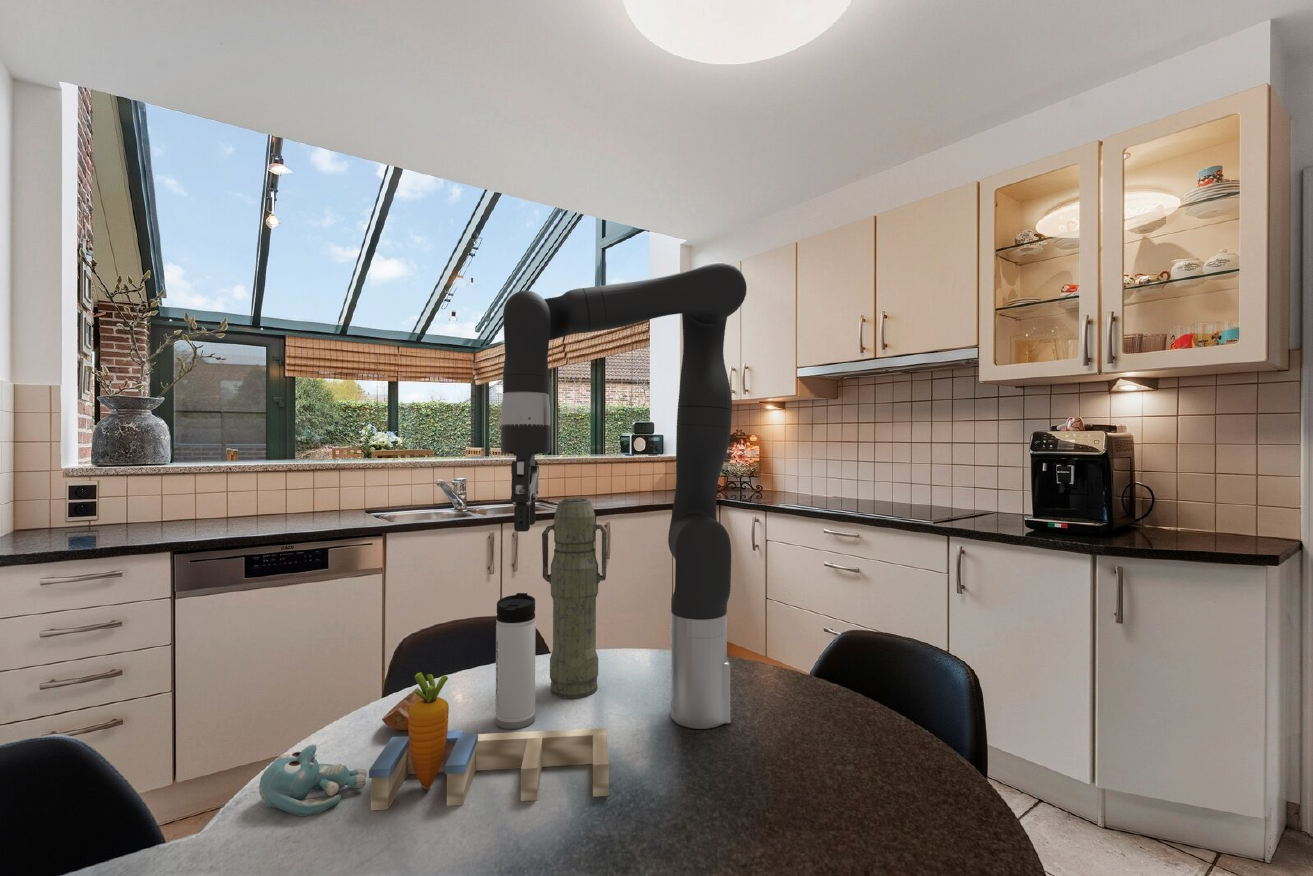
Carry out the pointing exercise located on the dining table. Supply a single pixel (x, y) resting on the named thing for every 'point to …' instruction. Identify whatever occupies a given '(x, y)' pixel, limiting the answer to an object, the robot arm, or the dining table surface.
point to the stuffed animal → (305, 782)
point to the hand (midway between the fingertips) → (525, 527)
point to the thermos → (574, 597)
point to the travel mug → (515, 661)
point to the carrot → (428, 729)
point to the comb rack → (494, 761)
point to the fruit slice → (401, 712)
